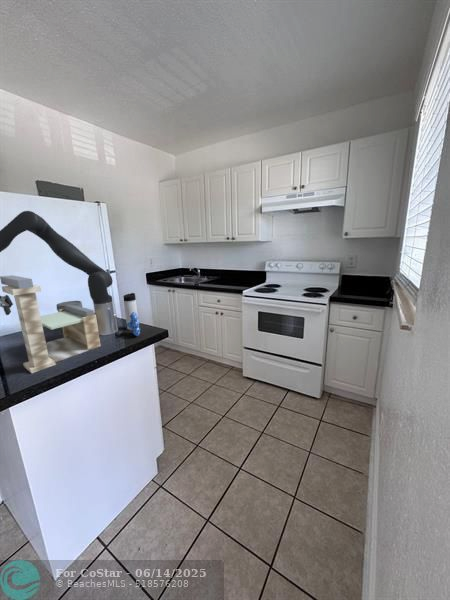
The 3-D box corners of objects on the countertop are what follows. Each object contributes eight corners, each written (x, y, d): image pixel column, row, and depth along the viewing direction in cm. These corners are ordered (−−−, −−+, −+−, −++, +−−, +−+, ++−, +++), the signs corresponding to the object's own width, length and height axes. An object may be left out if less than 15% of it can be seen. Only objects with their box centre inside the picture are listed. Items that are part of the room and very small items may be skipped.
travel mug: (141, 326, 139) (138, 293, 135) (134, 330, 133) (129, 295, 128) (132, 326, 141) (128, 292, 137) (124, 329, 135) (120, 295, 130)
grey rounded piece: (82, 323, 149) (79, 299, 145) (88, 327, 140) (84, 303, 136) (58, 328, 141) (54, 303, 137) (62, 333, 131) (57, 307, 128)
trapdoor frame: (75, 335, 129) (70, 307, 125) (100, 346, 113) (95, 314, 110) (33, 347, 114) (26, 316, 111) (56, 361, 99) (48, 326, 95)
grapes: (125, 333, 130) (123, 311, 127) (138, 330, 133) (136, 309, 130) (129, 340, 120) (126, 317, 117) (143, 337, 123) (140, 314, 121)
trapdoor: (72, 311, 125) (70, 303, 124) (94, 318, 111) (93, 310, 110) (31, 320, 111) (29, 311, 110) (51, 329, 97) (49, 320, 96)
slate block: (14, 282, 102) (12, 275, 101) (33, 287, 88) (31, 278, 87) (1, 283, 98) (-1, 276, 98) (19, 288, 84) (17, 280, 84)
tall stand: (43, 356, 105) (27, 283, 97) (55, 364, 96) (39, 286, 89) (20, 363, 98) (1, 286, 91) (31, 373, 90) (12, 289, 83)
